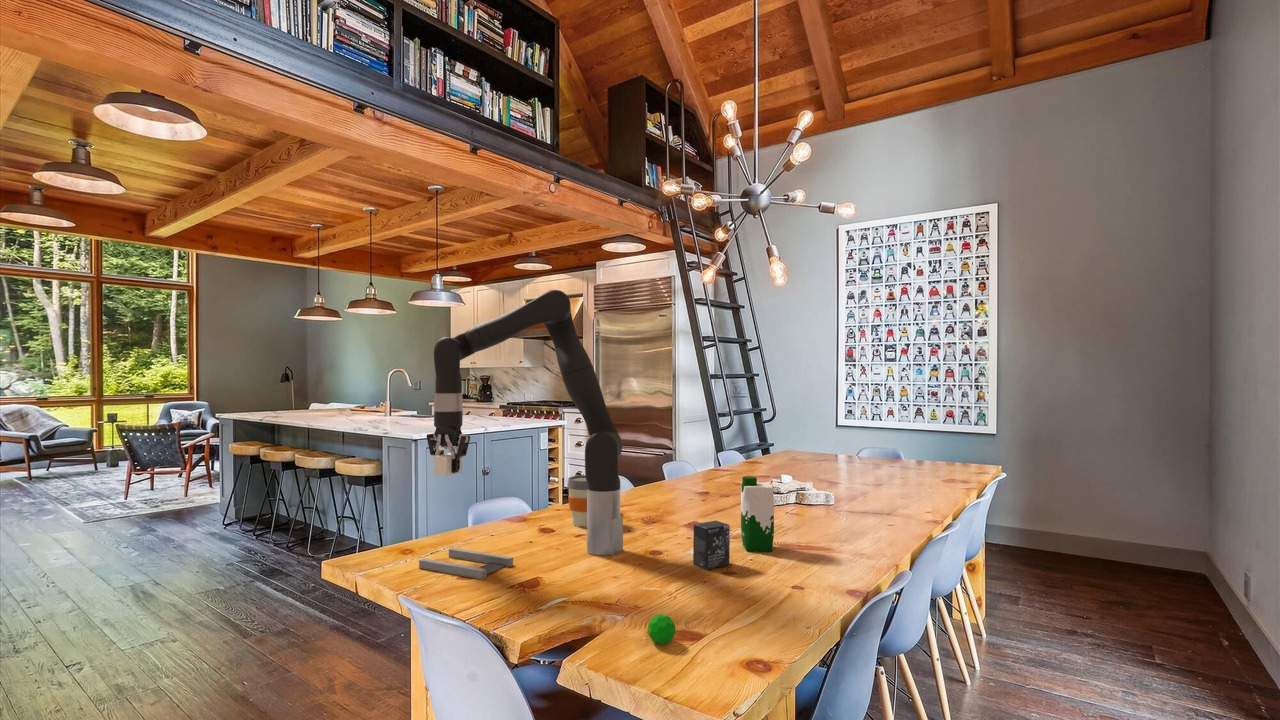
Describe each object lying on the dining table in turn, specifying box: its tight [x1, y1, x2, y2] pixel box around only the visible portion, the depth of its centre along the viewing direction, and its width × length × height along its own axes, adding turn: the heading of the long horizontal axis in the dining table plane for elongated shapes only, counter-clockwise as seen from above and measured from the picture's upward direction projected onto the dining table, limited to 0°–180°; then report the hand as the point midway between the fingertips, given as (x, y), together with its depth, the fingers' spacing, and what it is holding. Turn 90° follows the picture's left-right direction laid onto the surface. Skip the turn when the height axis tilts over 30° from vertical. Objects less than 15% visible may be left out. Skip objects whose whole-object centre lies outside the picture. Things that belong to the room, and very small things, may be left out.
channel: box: [418, 547, 514, 580], centre depth 152 cm, size 20×12×2 cm, turn 65°
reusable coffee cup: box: [566, 474, 587, 528], centre depth 197 cm, size 13×13×15 cm
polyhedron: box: [647, 614, 676, 646], centre depth 109 cm, size 5×5×5 cm
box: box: [692, 520, 731, 571], centre depth 154 cm, size 8×6×11 cm
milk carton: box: [740, 475, 775, 553], centre depth 169 cm, size 9×9×20 cm
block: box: [433, 452, 463, 476], centre depth 165 cm, size 4×6×5 cm
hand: (447, 471), depth 165 cm, fingers closed on block, 4 cm apart
